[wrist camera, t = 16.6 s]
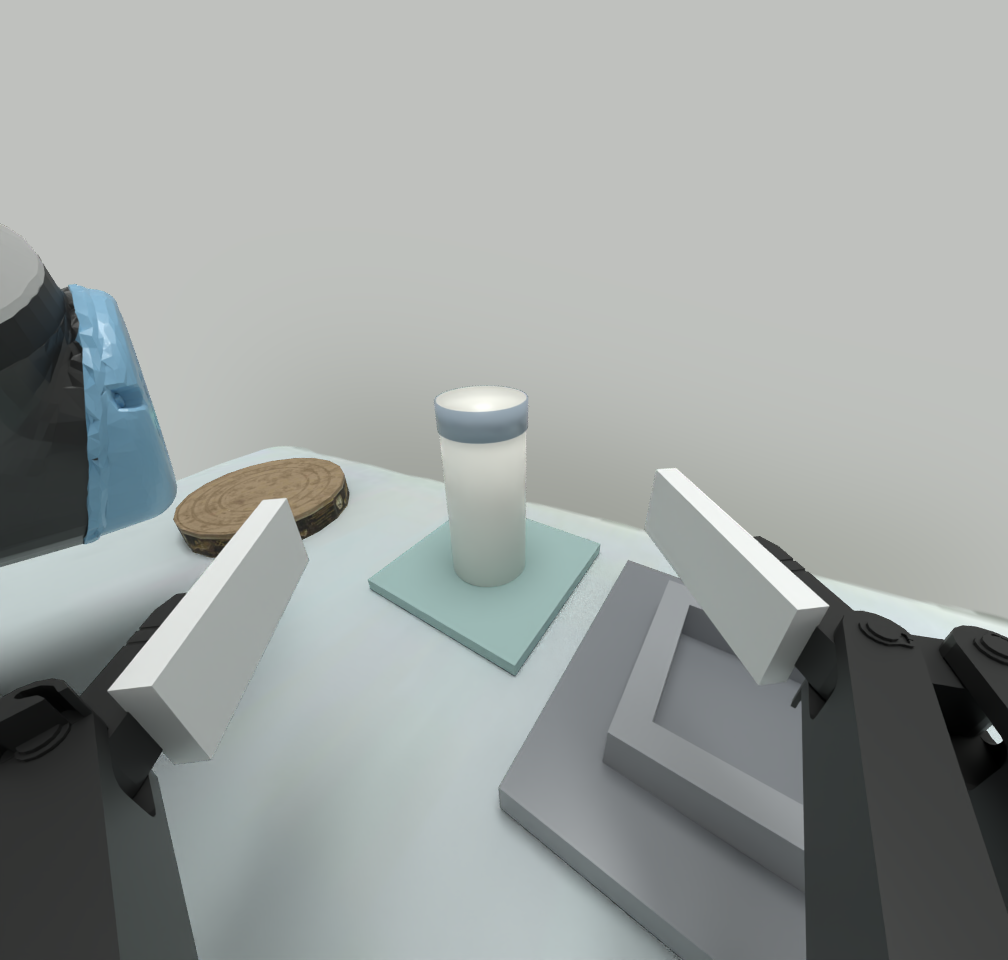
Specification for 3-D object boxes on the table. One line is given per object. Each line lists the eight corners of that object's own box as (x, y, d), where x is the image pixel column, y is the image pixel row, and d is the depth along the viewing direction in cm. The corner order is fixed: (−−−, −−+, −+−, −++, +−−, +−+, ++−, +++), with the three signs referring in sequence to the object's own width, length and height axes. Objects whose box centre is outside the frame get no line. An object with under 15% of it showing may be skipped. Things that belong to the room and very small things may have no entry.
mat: (370, 588, 31) (367, 579, 30) (475, 508, 41) (475, 500, 40) (514, 676, 24) (514, 665, 23) (599, 552, 34) (600, 544, 33)
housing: (499, 807, 18) (496, 758, 16) (625, 578, 31) (632, 534, 29) (1132, 1333, 9) (1328, 1388, 7) (934, 697, 22) (978, 645, 20)
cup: (436, 568, 31) (413, 402, 24) (482, 530, 36) (473, 381, 29) (498, 599, 28) (491, 419, 21) (539, 554, 32) (545, 392, 26)
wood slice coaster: (297, 469, 52) (290, 448, 50) (379, 497, 44) (374, 474, 43) (158, 530, 40) (144, 506, 38) (239, 583, 32) (225, 556, 31)
